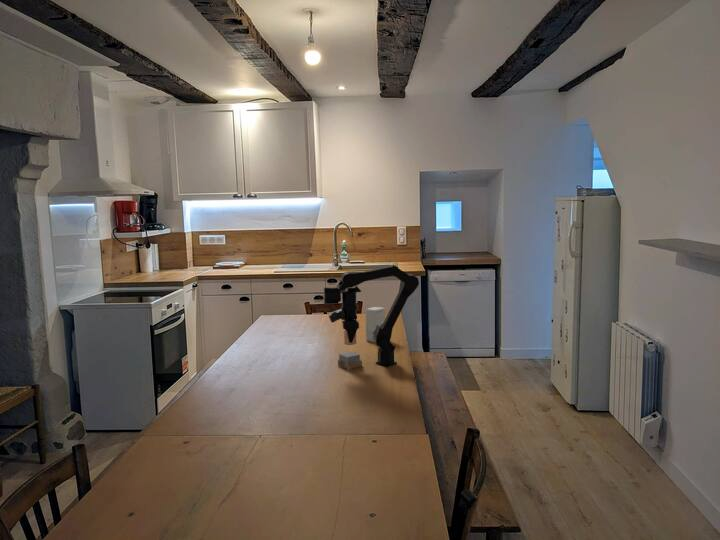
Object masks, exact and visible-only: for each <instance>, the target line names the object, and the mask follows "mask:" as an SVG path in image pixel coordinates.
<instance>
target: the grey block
mask: <svg viewBox="0 0 720 540" xmlns="http://www.w3.org/2000/svg"><path fill="white" fill-rule="evenodd" d="M338 360H340V361H343V362H345V363H352V362H356V361H360V360H361V356H360V353H359V354H358V353H356V352H354V351H347V352H342V353H339V354H338Z"/></svg>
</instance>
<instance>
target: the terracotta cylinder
mask: <svg viewBox="0 0 720 540" xmlns="http://www.w3.org/2000/svg"><path fill="white" fill-rule="evenodd" d="M343 344H344V345H347V346H352V345H353V346H354V345H356V344H357V333H356V334H355V336H354V339H353V342H352V343H349V339H348V334H347V331H346V330H345V329H344V330H343Z"/></svg>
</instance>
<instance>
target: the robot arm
mask: <svg viewBox="0 0 720 540" xmlns="http://www.w3.org/2000/svg"><path fill="white" fill-rule="evenodd" d="M392 276H393V277H395V278H397V279H398V280H399V281H400V283H399V286H398V288H399V289H398V292H397V295H396V297H395V299H394V301H393V303H392V305H391V307H390V308H389V311H388V313H387V314H386V316H385V321H384V323H383V324H382V325H381V326H379V325H377V326H376V329H375V331H374V332H373V334H374V335H373V340H374V342H373V343H375V345H376V346H377V347H378V349H377V361H375V364H377V365H380V366H383V367H385V368H386V367H389V366H393V365H396V364H398V362H397V361H395V348H396V346H395V344H393V343H392V341H391V338H392V335H393V328H394V326H395V324H396V323H397V320H398V319H399V317H400V314H401V313H402V311H403V308H404V306H405V304H406V303H407V301H408V299H409V297H411V295H412V294H413V293H414V292H415V291H416V290H417V288H418V287H419V284H420V280H419V279H418V277H417V276H416V275H414V274H412V273H406V272H405V271H403V270H402V269H400V268H399V267H398V266H397V265H395V264H391V265H386V266H382V267H377V268H372V269H369V270H364V271H359V270H357V271H355V270H351V271H350V270H349V271H348V270H347V271H344V272H343V273H342V274H341V276H340V280H339V282H338V284H337V285H336V286H335V287H329V286H326V287H324V288H323V294H322V295H323V299H322V300H323V305H338V304H339V303H340V302H342V303H341V307H340V309H337V310H334V311H332V312H329V313H327V315H328V317H329V320H330V322H331V323H335V322H337V321H339V320H341V324H342V329H343V330H344V331H345V330H346V331H347V334H348V339H349V343H352V342H353V339H354V336H355V334H356V335H357V331H358V329H360V323H359V321H358V314H357V311H358V310H357V309H358V306H357V293H360V292H362V290H361V289H360V288H359V287H358V286H359V285H360V284H362V283H364V282H368V281H373V280H376V279H382V278H387V277H392ZM341 300H342V301H341Z"/></svg>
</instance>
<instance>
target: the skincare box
mask: <svg viewBox="0 0 720 540" xmlns="http://www.w3.org/2000/svg"><path fill="white" fill-rule="evenodd" d="M385 319H386V308H385V307H379V306H373V307H369V308H365V340H366V342H370V343H375V342H374V340H373V335H374V334H373V332H374V331H375V329H376V326H377V325H379V326H381V325H382V324H383V323H384V321H385Z"/></svg>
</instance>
